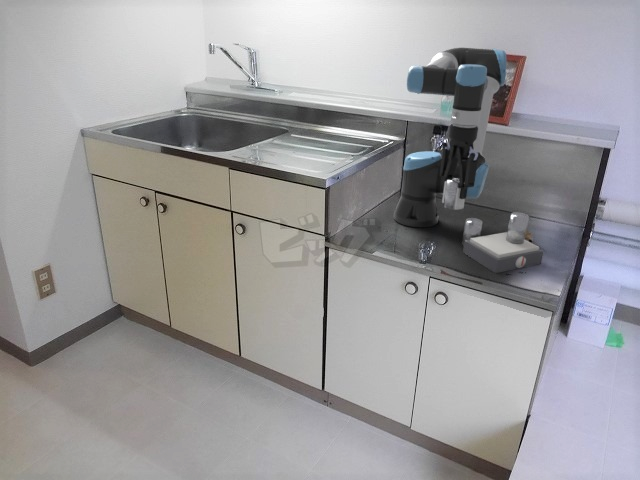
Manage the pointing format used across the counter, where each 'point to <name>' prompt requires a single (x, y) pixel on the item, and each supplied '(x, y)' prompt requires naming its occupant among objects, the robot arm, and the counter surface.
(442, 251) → the counter surface
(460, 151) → the robot arm
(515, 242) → the cylinder
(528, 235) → the filled bread boat
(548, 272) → the counter surface
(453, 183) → the cylinder
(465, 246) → the scale
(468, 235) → the cylinder
